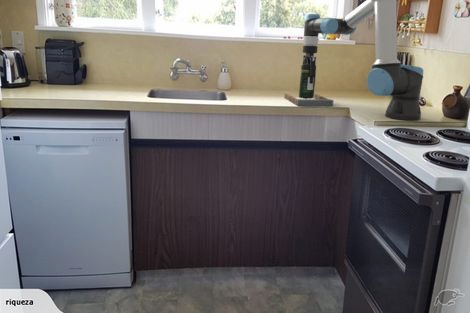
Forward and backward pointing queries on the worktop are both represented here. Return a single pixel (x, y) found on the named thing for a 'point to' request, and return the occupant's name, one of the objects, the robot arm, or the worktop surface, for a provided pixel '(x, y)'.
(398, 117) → the robot arm
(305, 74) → the coffee jar
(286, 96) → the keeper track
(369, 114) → the worktop surface
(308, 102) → the end stop
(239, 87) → the worktop surface
